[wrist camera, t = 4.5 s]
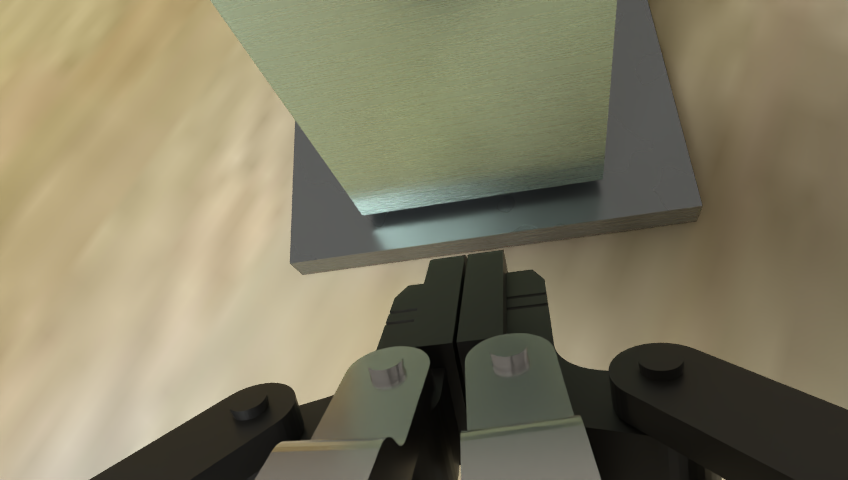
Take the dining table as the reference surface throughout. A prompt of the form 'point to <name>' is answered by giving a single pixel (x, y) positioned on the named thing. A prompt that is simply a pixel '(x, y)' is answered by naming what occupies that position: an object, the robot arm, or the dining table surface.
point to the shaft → (439, 91)
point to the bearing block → (528, 210)
